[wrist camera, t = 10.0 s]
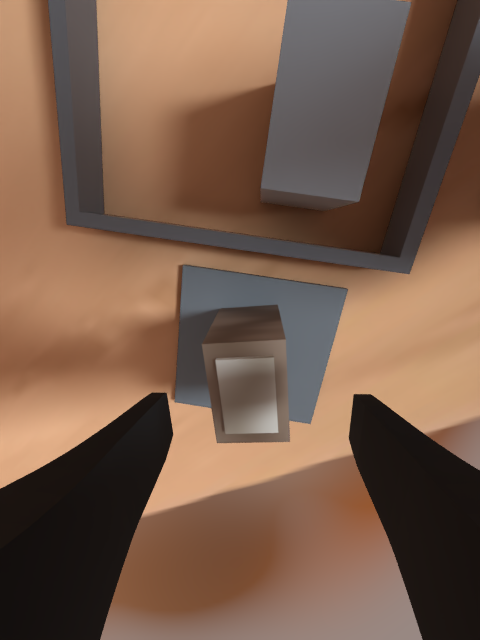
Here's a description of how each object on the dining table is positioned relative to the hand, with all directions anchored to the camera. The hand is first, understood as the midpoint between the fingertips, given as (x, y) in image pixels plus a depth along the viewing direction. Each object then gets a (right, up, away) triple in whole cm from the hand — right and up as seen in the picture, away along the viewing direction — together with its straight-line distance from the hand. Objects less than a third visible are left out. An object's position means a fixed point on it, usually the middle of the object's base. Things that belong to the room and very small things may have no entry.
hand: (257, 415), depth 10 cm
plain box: (+3, +13, +5) cm, 15 cm away
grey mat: (0, +1, +9) cm, 9 cm away
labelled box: (0, +2, +9) cm, 9 cm away
